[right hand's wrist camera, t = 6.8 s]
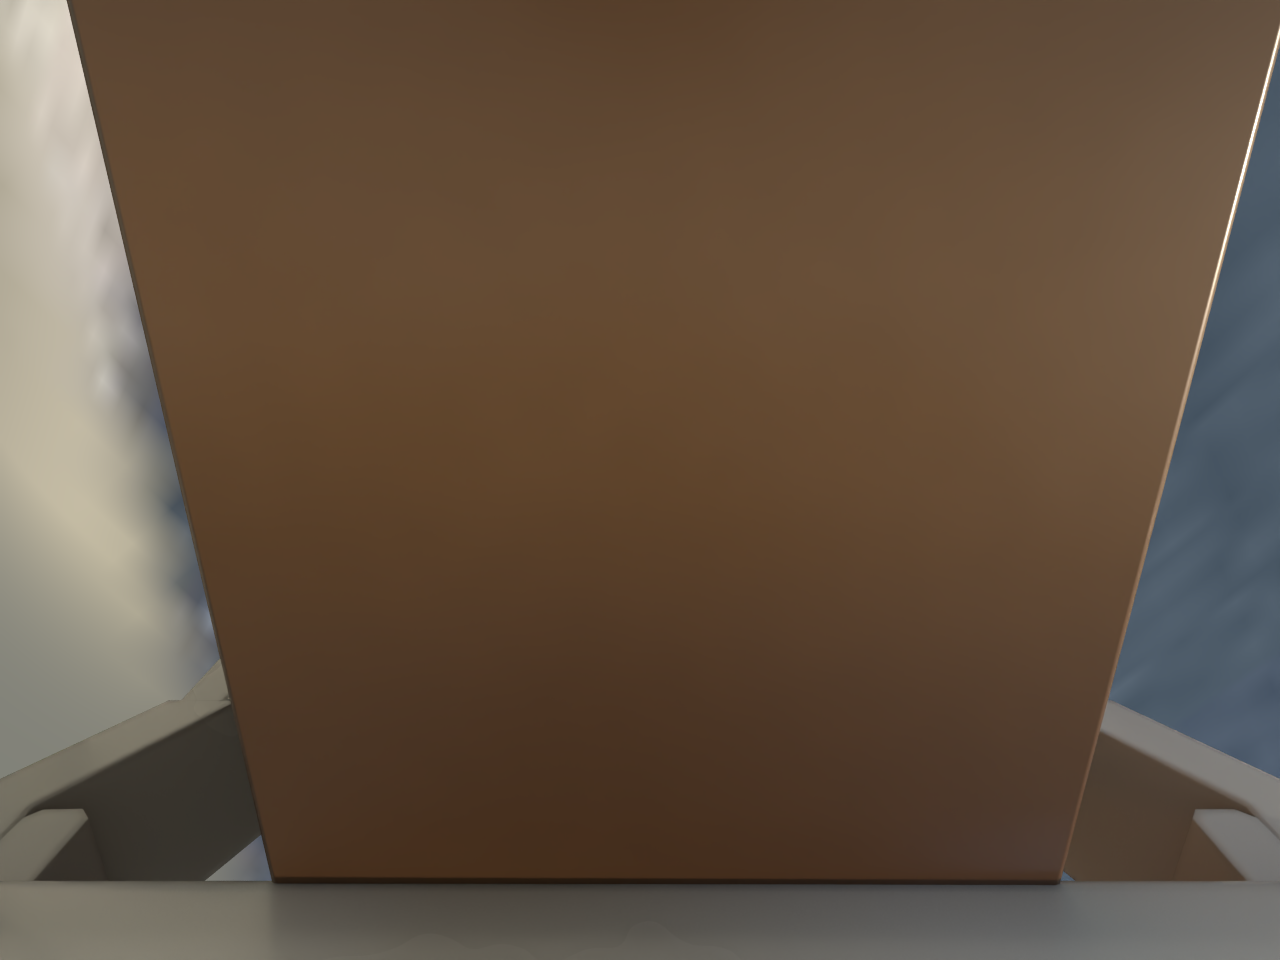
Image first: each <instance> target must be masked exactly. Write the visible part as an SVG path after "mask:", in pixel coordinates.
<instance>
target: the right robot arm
mask: <svg viewBox="0 0 1280 960" xmlns="http://www.w3.org/2000/svg"><path fill="white" fill-rule="evenodd" d="M260 835H261V831H260V827H259V823H258V818H257V814H256V810H255V805H254V801H253V797H252V793H251V788H250V784H249V780H248V775H247V771H246V767H245V762H244V758H243V754H242V750H241V745H240V741H239V737H238V732H237V728H236V724H235V720H234V715H233V711H232V707H231V702H230V698H229V694H228V690H227V685H226V681H225V677H224V672H223V668H222V664H221V660H220V659H219V660H218V661H217V662H216V663H215V664H214V665H213V667H212V668H211V669H210V670H209V671H208V672H207V673H206V674H205V675H204V676H203V677H202V678H201V680H200V681H199V682H198V683H197V684H196V685H195V686H194V687H193V688H192V689H191V690H190V691H189V693H188V694H187V695H186V696H185V697H184V698H183V699H182V700H169V701H166V702H164V703H162V704H160V705H158V706H156V707H154V708H151V709H149V710H147V711H145V712H143V713H141V714H139V715H136V716H134V717H132V718H130V719H128V720H126V721H123V722H121V723H119V724H117V725H115V726H113V727H111V728H108V729H106V730H104V731H102V732H100V733H98V734H96V735H93V736H91V737H89V738H87V739H85V740H83V741H81V742H78V743H76V744H74V745H72V746H70V747H68V748H66V749H63V750H61V751H59V752H57V753H55V754H53V755H51V756H48V757H46V758H44V759H42V760H40V761H38V762H36V763H34V764H31V765H29V766H27V767H25V768H23V769H21V770H18V771H16V772H14V773H12V774H10V775H8V776H6V777H3V778H1V779H0V960H1280V779H1278V778H1276V777H1274V776H1272V775H1270V774H1268V773H1265V772H1263V771H1261V770H1259V769H1257V768H1255V767H1253V766H1250V765H1248V764H1246V763H1244V762H1242V761H1240V760H1238V759H1235V758H1233V757H1231V756H1229V755H1227V754H1225V753H1223V752H1220V751H1218V750H1216V749H1214V748H1212V747H1210V746H1208V745H1205V744H1203V743H1201V742H1199V741H1197V740H1195V739H1193V738H1191V737H1188V736H1186V735H1184V734H1182V733H1180V732H1178V731H1176V730H1173V729H1171V728H1169V727H1167V726H1165V725H1163V724H1161V723H1158V722H1156V721H1154V720H1152V719H1150V718H1148V717H1146V716H1143V715H1141V714H1139V713H1137V712H1135V711H1133V710H1131V709H1128V708H1126V707H1124V706H1122V705H1120V704H1118V703H1116V702H1113V701H1111V700H1108V701H1107V705H1106V709H1105V713H1104V717H1103V721H1102V724H1101V728H1100V732H1099V736H1098V740H1097V743H1096V747H1095V751H1094V755H1093V759H1092V762H1091V766H1090V770H1089V774H1088V778H1087V782H1086V785H1085V789H1084V793H1083V797H1082V801H1081V804H1080V808H1079V812H1078V816H1077V820H1076V823H1075V827H1074V831H1073V835H1072V839H1071V843H1070V846H1069V850H1068V854H1067V858H1066V862H1065V865H1064V869H1063V871H1064V872H1065V873H1067V874H1068V875H1069V876H1070V877H1071V878H1073V879H1074V880H1075V881H1060V884H1057V885H840V884H276V883H272V881H205V880H206V879H207V878H209V877H210V876H211V875H212V874H214V873H215V872H216V871H217V870H218V869H220V868H221V867H222V866H223V865H224V864H226V863H227V862H228V861H229V860H231V859H232V858H233V857H234V856H235V855H237V854H238V853H239V852H240V851H241V850H243V849H244V848H245V847H246V846H248V845H249V844H250V843H251V842H252V841H254V840H255V839H256V838H257V837H259V836H260Z"/></svg>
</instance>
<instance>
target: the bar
mask: <svg viewBox="0 0 1280 960" xmlns="http://www.w3.org/2000/svg"><path fill="white" fill-rule="evenodd" d="M67 4H68V8H69V12H70V16H71V21H72V25H73V29H74V34H75V38H76V42H77V46H78V51H79V55H80V59H81V64H82V68H83V72H84V76H85V81H86V85H87V89H88V94H89V98H90V102H91V106H92V111H93V115H94V119H95V124H96V128H97V132H98V136H99V141H100V145H101V149H102V154H103V158H104V162H105V166H106V171H107V175H108V179H109V184H110V188H111V192H112V197H113V201H114V205H115V209H116V214H117V218H118V222H119V227H120V231H121V235H122V239H123V244H124V248H125V252H126V257H127V261H128V265H129V269H130V274H131V278H132V282H133V287H134V291H135V295H136V299H137V304H138V308H139V312H140V317H141V321H142V325H143V329H144V334H145V338H146V342H147V347H148V351H149V355H150V359H151V364H152V368H153V372H154V377H155V381H156V385H157V389H158V394H159V398H160V402H161V407H162V411H163V415H164V419H165V424H166V428H167V432H168V437H169V441H170V445H171V449H172V454H173V458H174V462H175V467H176V471H177V475H178V479H179V484H180V488H181V492H182V497H183V501H184V505H185V510H186V514H187V518H188V522H189V527H190V531H191V535H192V540H193V544H194V548H195V552H196V557H197V561H198V565H199V570H200V574H201V578H202V582H203V587H204V591H205V595H206V600H207V604H208V608H209V612H210V617H211V621H212V625H213V630H214V634H215V638H216V642H217V647H218V651H219V655H220V660H221V664H222V668H223V672H224V677H225V681H226V685H227V690H228V694H229V698H230V702H231V707H232V711H233V715H234V720H235V724H236V728H237V732H238V737H239V741H240V745H241V750H242V754H243V758H244V762H245V767H246V771H247V775H248V780H249V784H250V788H251V793H252V797H253V801H254V805H255V810H256V814H257V818H258V823H259V827H260V831H261V835H262V840H263V844H264V848H265V853H266V857H267V861H268V865H269V870H270V874H271V878H272V883H276V884H840V885H1057V884H1060V881H1061V877H1062V873H1063V869H1064V865H1065V862H1066V858H1067V854H1068V850H1069V846H1070V843H1071V839H1072V835H1073V831H1074V827H1075V823H1076V820H1077V816H1078V812H1079V808H1080V804H1081V801H1082V797H1083V793H1084V789H1085V785H1086V782H1087V778H1088V774H1089V770H1090V766H1091V762H1092V759H1093V755H1094V751H1095V747H1096V743H1097V740H1098V736H1099V732H1100V728H1101V724H1102V721H1103V717H1104V713H1105V709H1106V705H1107V701H1108V698H1109V694H1110V690H1111V686H1112V682H1113V679H1114V675H1115V671H1116V667H1117V663H1118V659H1119V656H1120V652H1121V648H1122V644H1123V640H1124V637H1125V633H1126V629H1127V625H1128V621H1129V618H1130V614H1131V610H1132V606H1133V602H1134V598H1135V595H1136V591H1137V587H1138V583H1139V579H1140V576H1141V572H1142V568H1143V564H1144V560H1145V556H1146V553H1147V549H1148V545H1149V541H1150V537H1151V534H1152V530H1153V526H1154V522H1155V518H1156V515H1157V511H1158V507H1159V503H1160V499H1161V495H1162V492H1163V488H1164V484H1165V480H1166V476H1167V473H1168V469H1169V465H1170V461H1171V457H1172V454H1173V450H1174V446H1175V442H1176V438H1177V434H1178V431H1179V427H1180V423H1181V419H1182V415H1183V412H1184V408H1185V404H1186V400H1187V396H1188V392H1189V389H1190V385H1191V381H1192V377H1193V373H1194V370H1195V366H1196V362H1197V358H1198V354H1199V351H1200V347H1201V343H1202V339H1203V335H1204V331H1205V328H1206V324H1207V320H1208V316H1209V312H1210V309H1211V305H1212V301H1213V297H1214V293H1215V289H1216V286H1217V282H1218V278H1219V274H1220V270H1221V267H1222V263H1223V259H1224V255H1225V251H1226V248H1227V244H1228V240H1229V236H1230V232H1231V228H1232V225H1233V221H1234V217H1235V213H1236V209H1237V206H1238V202H1239V198H1240V194H1241V190H1242V187H1243V183H1244V179H1245V175H1246V171H1247V167H1248V164H1249V160H1250V156H1251V152H1252V148H1253V145H1254V141H1255V137H1256V133H1257V129H1258V125H1259V122H1260V118H1261V114H1262V110H1263V106H1264V103H1265V99H1266V95H1267V91H1268V87H1269V84H1270V80H1271V76H1272V72H1273V68H1274V64H1275V61H1276V57H1277V53H1278V49H1279V45H1280V0H67Z"/></svg>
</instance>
